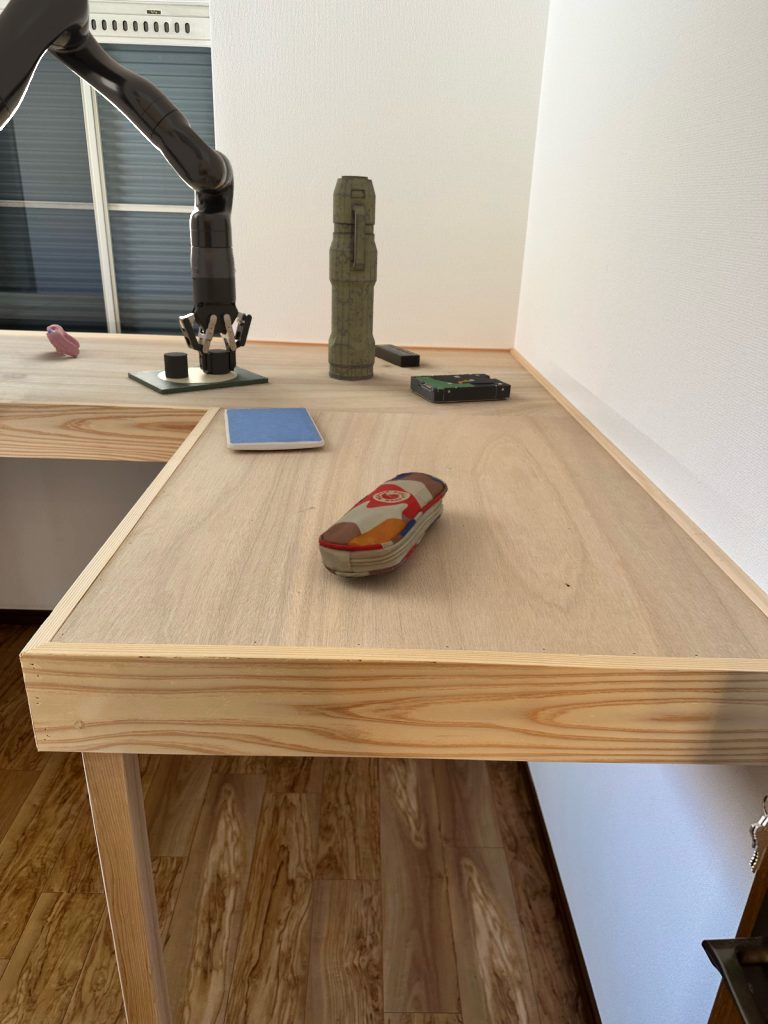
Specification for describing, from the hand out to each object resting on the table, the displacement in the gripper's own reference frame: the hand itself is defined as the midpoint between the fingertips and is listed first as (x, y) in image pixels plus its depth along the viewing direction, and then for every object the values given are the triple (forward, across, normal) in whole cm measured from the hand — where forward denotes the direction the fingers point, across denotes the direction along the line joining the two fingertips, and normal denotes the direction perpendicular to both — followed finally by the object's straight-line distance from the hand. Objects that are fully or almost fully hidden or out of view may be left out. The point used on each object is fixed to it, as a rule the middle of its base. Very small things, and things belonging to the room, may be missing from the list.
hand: (218, 371), depth 134 cm
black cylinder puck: (0, 0, 0) cm, 0 cm away
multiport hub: (+1, -41, +1) cm, 41 cm away
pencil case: (+1, +19, +76) cm, 78 cm away
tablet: (+1, +10, +37) cm, 39 cm away
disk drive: (+1, -30, +33) cm, 45 cm away
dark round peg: (0, +8, 0) cm, 8 cm away
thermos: (+1, -23, +10) cm, 25 cm away
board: (+1, +4, 0) cm, 4 cm away
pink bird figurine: (+1, +17, -37) cm, 41 cm away
